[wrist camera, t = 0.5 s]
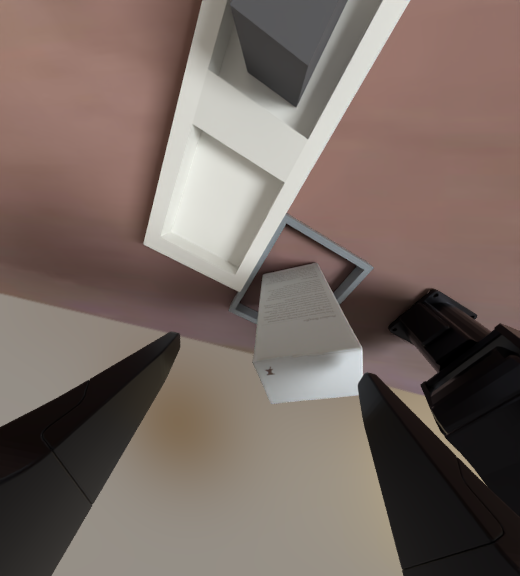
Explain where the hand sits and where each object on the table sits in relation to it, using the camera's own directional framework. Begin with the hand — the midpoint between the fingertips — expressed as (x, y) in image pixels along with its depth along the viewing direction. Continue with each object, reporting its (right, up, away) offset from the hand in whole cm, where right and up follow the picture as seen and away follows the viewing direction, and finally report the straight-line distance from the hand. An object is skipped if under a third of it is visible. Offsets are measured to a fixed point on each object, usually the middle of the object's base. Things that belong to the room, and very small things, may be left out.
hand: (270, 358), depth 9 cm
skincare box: (+3, +4, +13) cm, 14 cm away
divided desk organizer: (-1, +15, +6) cm, 17 cm away
